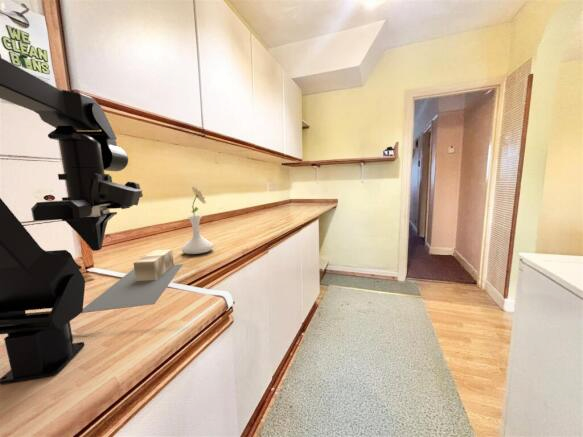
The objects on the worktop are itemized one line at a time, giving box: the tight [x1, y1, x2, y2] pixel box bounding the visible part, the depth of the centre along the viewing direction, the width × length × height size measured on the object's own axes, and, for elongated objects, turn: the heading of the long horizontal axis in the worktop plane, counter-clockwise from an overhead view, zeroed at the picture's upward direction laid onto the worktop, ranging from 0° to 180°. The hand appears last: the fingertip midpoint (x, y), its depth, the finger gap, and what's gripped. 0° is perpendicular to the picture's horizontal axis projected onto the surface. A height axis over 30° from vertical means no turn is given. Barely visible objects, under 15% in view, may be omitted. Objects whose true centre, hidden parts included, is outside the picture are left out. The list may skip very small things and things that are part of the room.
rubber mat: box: [81, 263, 183, 314], centre depth 61 cm, size 26×14×1 cm, turn 12°
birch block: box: [133, 248, 175, 281], centre depth 68 cm, size 5×5×12 cm
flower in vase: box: [180, 185, 214, 255], centre depth 89 cm, size 13×11×25 cm
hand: (97, 250), depth 46 cm, fingers closed
